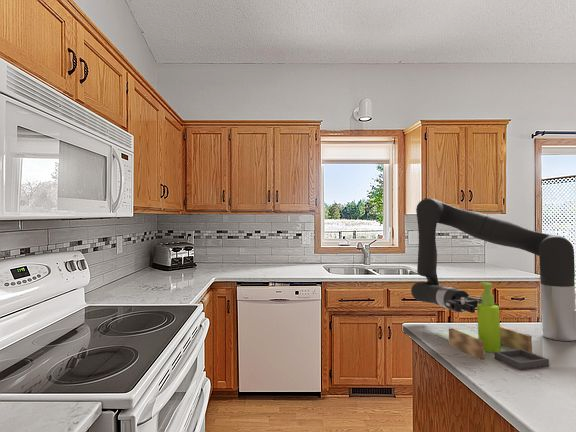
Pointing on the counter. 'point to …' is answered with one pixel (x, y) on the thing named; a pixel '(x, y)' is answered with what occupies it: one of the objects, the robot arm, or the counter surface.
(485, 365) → the counter surface
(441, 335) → the mat
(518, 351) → the pit tray
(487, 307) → the soap dispenser
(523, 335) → the oak channel
